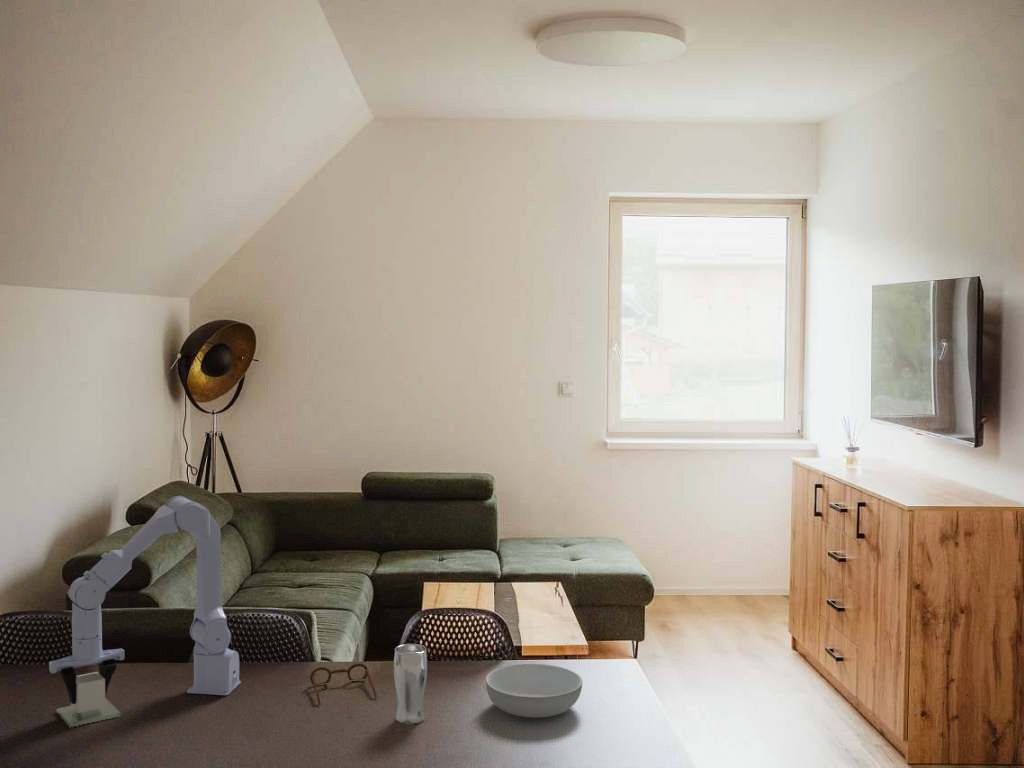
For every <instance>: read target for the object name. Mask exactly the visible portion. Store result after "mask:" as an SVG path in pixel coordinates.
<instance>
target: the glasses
mask: <svg viewBox="0 0 1024 768" xmlns="http://www.w3.org/2000/svg"><path fill="white" fill-rule="evenodd" d="M356 667H362V668H363V669H364V670H365V672H364V675H363V676H362V678H360V679H365V680H366V679H368V682H369V684H370V686H371V690H372V693H373V695H374V699H375V698H376V697H377V698H378V695H377V693H376V690H375V686H374V684H373V681H372V678H371V675H370V672H369V670H368V666H367V665H365V664H364V663H360V662H358V663H354V664H351V666H349V667H348V669H347V668H339V669H334V670H332V671H331V670H330V669H329V668H328V667H325V666H319V667H316V668H314V669H313V670H312V671H311V673H310V675H309V677H310V678H309V680H310V683H311V684H312V686H313V687H314V692H315V694H316V698H317V703H318V706H319V705H321V701H320V697H319V696H320V695H319V690H318V688H317V687H318V686H316V684H325V683H328V684H329V683H330V682H331V679H332V675H333V674H339V673H347V674H346V675H347V678H348V681H350V680H355V679H354V678H352V677H351V671H352V670H353V669H354V668H356ZM319 671H325V672H327V673H328V677H327V679H326V681H324V682H322V683H320V682H319V683H318V682H316V680H315V676H314V675H315V673H317V672H319Z"/></svg>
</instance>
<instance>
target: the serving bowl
mask: <svg viewBox="0 0 1024 768" xmlns="http://www.w3.org/2000/svg"><path fill="white" fill-rule="evenodd" d="M485 687H486V692H487V695H488V696H489V699H490V701H492V703H493V705H495V706H496V707H497V708H498V709H500V710H502V711H503V712H506V713H507V714H510V715H513V716H517V717H522V718H529V717H531V719H534V718H538V719H539V718H548V717H552V716H557V715H560V714H562V713H564V712H566V711H568V710H569V709H571V707H573V706H574V705H575V704H576V702H577V701H578V699H579V698H580V695H581V692H582V688H583V678H582V677H581V676H580V675H579V674H578V673H577V672H575V671H572V670H570V669H569V668H564V667H562V666H556V665H551V664H550V665H549V664H543V663H519V664H511V665H506V666H501V667H497V668H496V669H493V670H491V671H490V672H488V674H487V675H486V677H485Z"/></svg>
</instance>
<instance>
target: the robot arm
mask: <svg viewBox="0 0 1024 768" xmlns="http://www.w3.org/2000/svg"><path fill="white" fill-rule="evenodd" d="M178 527H179V528H180V529H182V530H184V531H186V532H188V533H189V534H190V535H192V536H193V537H194V538H195V541H196V542H195V543H196V545H195V546H196V547H195V548H196V549H195V551H196V595H197V596H196V598H197V599H196V603H197V605H196V606H197V607H196V608H195V610H194V612H193V619H192V623H191V625H190V627H189V628H190V629H189V635H190V637H191V639H192V640H193V641H194V642H195V644H194V647H193V685H192V686H191V687H189V688H188V689H187V690H186V693H187V694H194V695H195V694H196V695H198V694H199V695H214V696H228V695H229V694H230V693H232V691H233V690H235V689H236V688H237V687H238V686H239V685H240V684H241V680H240V655H239V652H238V651H236V650H233V649H229V645H230V643H231V641H232V632H231V631H230V629H229V627H228V622H227V616H226V614H225V612H224V610H223V607H222V603H223V600H222V598H223V597H222V550H221V549H222V545H221V544H222V541H221V535H222V534H221V528H220V527H219V524H217V522H216V521H215V519H214V518H213V516H212V515H211V513H210V510H209V509H208V508H207V507H205V506H203V505H202V504H200V503H199V502H196V501H193V500H192V499H191V500H190V499H189V498H188V497H185V496H183V495H176V496H172V497H171V498H169V499H168V500H167V502H166V503H165V504H163V505H161V506H160V507H158V509H157V510H156V511H155V513H154V514H153V515H152V516H151V517H150V519H148V520H147V521H146V522H145V524H144V525H142V527H141V528H140V529H139V530H138V531H137V532H135V534H134V535H133V536H132V537H131V538H129V540H128V541H127V542H126V543H125V544H124V545H123V546H122V547H121V548H120V549H112V550H110V551H109V552H108V553H107V552H104V553H103V554H102V555H101V556H100V558H101V559H100V560H99V561H98V562H97V563H96V564H95V565H94V566H93V567H91V569H90V570H86V571H84V573H83V576H81V577H78V578H76V579H75V580H73V581H72V583H71V584H70V588H69V590H67V595H68V598H69V599H70V600H71V601H72V602H71V604H72V605H71V608H72V609H71V611H72V614H71V638H72V639H71V642H72V643H71V646H72V647H71V649H72V651H71V653H72V655H69V656H66V657H62V658H59V659H56V660H55V659H54V660H51V661H49V662H48V663H49V665H48V666H49V667H48V669H49V672H50V673H51V674H55V673H59V675H60V676H61V679H62V680H63V682H64V685H65V687H66V690H67V693H68V698H69V702H70V704H71V703H72V704H76V677H77V676H78V675H77V674H76V672H75V669H77V668H82V667H86V666H92V665H97V664H98V670H99V671H98V673H99V674H100V675H101V676H102V677H103V678H104V679H105V698H106V697H107V693H108V692H107V691H108V689H109V684H110V683H111V679H112V677H113V675H114V673H115V671H116V669H117V665H118V664H117V662H116V661H124V660H125V650H124V649H123V648H114V649H105V650H104V649H103V625H102V624H103V623H102V621H103V619H102V617H103V615H102V604H103V602H104V601H105V599H106V594H107V592H108V591H110V590H111V589H112V588H113V587H115V585H116V584H117V583H118V582H119V581H121V579H122V578H124V576H125V575H126V574H128V572H129V571H130V570H132V563H133V560H134V559H135V558H137V557H138V556H139V555H140V554H141V553H143V551H145V550H146V549H147V548H148V547H150V546H151V545H152V544H153V543H154V542H155V541H156V540H158V538H160V537H161V536H162V535H169V534H177V533H179V529H178Z"/></svg>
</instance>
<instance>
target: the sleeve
mask: <svg viewBox="0 0 1024 768" xmlns="http://www.w3.org/2000/svg"><path fill="white" fill-rule="evenodd" d="M105 698H106V697H105V679H104V678H103V677H102V676H101V675H100V674H99V671H94V672H90V673H85V674H80V675H77V677H76V704H72V703H71V702H70V706H72V707H73V708H74V709H75V710H76V711H77V712H78V713H81V712H85V711H90V710H94V709H99V708H104V707H105Z"/></svg>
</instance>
